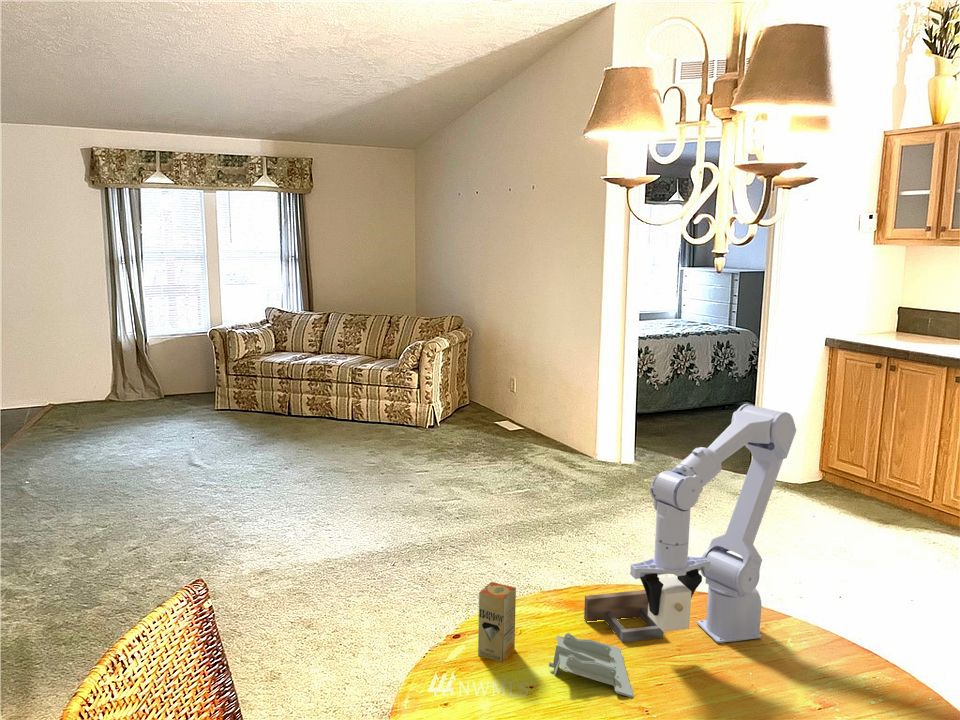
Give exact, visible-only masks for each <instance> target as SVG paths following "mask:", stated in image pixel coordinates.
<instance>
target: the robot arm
mask: <svg viewBox="0 0 960 720" xmlns="http://www.w3.org/2000/svg"><path fill="white" fill-rule="evenodd" d="M730 422H731V423H730V424H729V426H727V427H726V428H725V430H724V431H722V433H720V434H719V435H718V436H717V437H716V438H715V440H714V441H713V442H712V443H710V445H709V446H708V447H701V446H699V447H695V448H694V449H693V450H692V452H691V453H690V454H688V456H686V457H685V458H684V459H683V460H682V461H680V462H679V463H678V464H677V465H675V467H673V468H672V469H671V470H663V471H662V472H661V471H660V472H659V473H658V474H657V475H656V476H655V477H654V478H653V481H652V484H651V486H650V487H649V492H650V496H651V498H652V499H653V502H654V503H653V504H654V505H653V509H654V510H655V511H656V520H655V521H656V522H655V539H654V557H653V558H650V559H647V560H645V561H641V562H637V563H631V564H630V575H631V577H633V579H635V580H640V581H641V583H642V586H643V588H644V589H643V590H645V591H646V595H647V598H648V603H649V610H650V612H651V613H652V614H653V615H654V616H657V615H658V614H659V602H660V595H661V591H662V587H663V584H662V583H661V582H660V581H659V578H660V577H659V576H661V575H673V576H675V577H676V578H677V579H678V580H679V581H680V582H681V583H683V584H684V585H685V586H686V587H687V588H688V589H689V590H690V591H691V599H692V598H693V596H694V593H695V592H696V590H697V588H699V586H700V584H701V583H703V582H702V580H703V577H704V578H705V584H707V585H708V587H707V588H708V589H707V605H706V619H703V620H697V621H696V623H697V625H698V626H699V627H700V628H701V629H702V630H703V631H704V632H705V633H706V634H707V635H709V636H710V637H711V638H712V640H714V641H715V642H716V643H717V644H722V643H731V642H739V641H747V640H756V639H761V638H762V637H763V634H761V633H760V629H761V618H762V599H761V595H760V592H759V591H758V589H756V588H757V587H758V584H759V581H760V571H761V565H762V562H763V558H762V557H761V555H760V553H759V552H758V550H757V548H756V547H755V545H754V543H755V540H756V539H757V538H756V537H757V534H758V531H759V530H760V529H759V528H760V527H761V524H762V520H763V518H764V515H765V513H766V509H767V506H768V505H769V504H768V503H769V501H770V498H771V496H772V495H771V494H772V492H773V489H774V486H775V485H776V484H775V483H776V481H777V479H778V475H779V473H780V470H781V467H782V465H783V461H784V460H785V459H787V457H788V455H789V452H790V449H791V447H792V444H793V441H794V439H795V437H796V434H797V433H796V432H797V428H796V423H795V421H794V417H793V416H792V414H791V413H789V412H787V411H783V412H782V411H779V410H775V409H770V408H766V407H765V408H764V407H761V406H756V405H753V404H750V403H744V404H742V405H740V407H739V408H737V410H735V411H734V412H733V413H732V417H731V421H730ZM744 446H745V448H746V449H748V450H749V451H750V453H751V456H752V460H751V461H750V465H749V467H748V471H747V473H746V475H745V478H744V480H743V484H742V487H741V489H740V492H739V494H738V498H737V500H736V504H735V507H734V509H733V510H732V511H733V512H732V515H731V517H730V519H729V523H728V525H727V528H726V531H725V533H724V534H722V535H719V536H716V537H714V538H712V539H711V541H710V543H709V546H708V548H707V549H706V551H705V552H704V553H703V554H702V556H698V557H696V556H695V557H694V556H691V557H690V556H689V543H690V542H689V539H690V524H691V523H690V522H691V508H693V507H695V506H696V504H697V503H698V500H699V497H700V495H701V493H703V490H704V487H706V485H707V484H708V483H710V482H711V481H712V480H713V479H714V478H715V477H716V476H718V475H719V474H720V473H721V471H722V468H723V467H722V463H723V462H724V461H725V460H726V459H728V458H730V457H731V456H732V455H733V454H735V453H736V452H737V451H739V450H740V449H742V448H744ZM730 552H732V553H730ZM733 553H735V554H733ZM736 554H737V555H740V556H741V557H740V556H737V555H736ZM699 571H700V573H701V574H700V573H699Z"/></svg>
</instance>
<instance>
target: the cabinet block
mask: <svg viewBox="0 0 960 720" xmlns="http://www.w3.org/2000/svg"><path fill="white" fill-rule="evenodd" d="M659 581H660V582H661V583H662V584H663V587H662V591H661V595H660V602H659V614H658V615H657V616H654V615H653V614H652V613H651V612H650V610H649V603H648V616H649V617H650V618H651V619H652V620H653V621H654V622H655V623H656V624H657V626H658V627H659V628H660V629H661V630H662V631H663V632H671V631H680V630H681V631H682V630H687V629H690V621H691V608H692V607H691V605H692V604H691V602H692V598H691V591H690V590H689V589H688V588H687V587H686V586H685V585H684V584H683V583H681V582H680V581H679V580H678V578H677V576H668V577H659Z"/></svg>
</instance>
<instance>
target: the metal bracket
mask: <svg viewBox="0 0 960 720" xmlns="http://www.w3.org/2000/svg"><path fill="white" fill-rule="evenodd" d="M556 641H557V645H556V646H555V649H554V657H553V662H548V667H549V668H553V675H554V676H555V677H556V676H557V673H558V669H559V667H560V670H561V671H565V672H567V673H571V674H574V675H577V676H581V677H583V678H587V679H589V680H593V681H597V682H600V683H604V684H606V685H610V686H612V687H613V688H614V691H615V693H616V694H618V695H622V696H625V697H628V698H631V699H633V698H634V697H635V693H634V689H633V686H632V685H631V683H630V681H629V675H628V672H627V669H626V664H625V663H624V662H625V661H624V660H625V657H624V655H623V656H622V654H621V653H623V651H622V649H621V648H619V647H617V646H615V645H610V644H605V643H602V642H600V641H596V640H594V639H593V640H592V639H585V638H584V639H583V638H577V637H576V636H574V635H573V634H572V633H570V632H567V633H565V634H564V636H562V635H556ZM621 651H622V652H621Z"/></svg>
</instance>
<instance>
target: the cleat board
mask: <svg viewBox="0 0 960 720" xmlns="http://www.w3.org/2000/svg"><path fill="white" fill-rule="evenodd" d="M583 610H584V611H583V612H584V613H583V614H584V615H583V620H584V619H585V620H586V621H597V620H605V621H606V622H607V623H608V624H609V626H610V627H611V628H612V629H611V628H610V627H609V626H608V627H609V628H610V629H611V631H612V630H613V631H614V632H615V633H614V632H613V631H612V632H613V633H614V634H615V636H616V635H617V636H616V637H617V638H618V640H619V641H620V640H621V641H622V642H621V643H629V642H637V641H645V640H646V641H647V640H653V639H654V640H655V639H664V632H663V631H662V630H661V629H660V628H659V627H658V626H657V624H656V623H655V622H654V621H653V620H652V619H651V618H650V617H649V616H648V598H647V595H646V591H645V589H642V590H640V589H639V590H630V591H623V592H620V591H619V592H611V593H601V594H591V595H585V596H584V609H583ZM633 617H640V620H641V619H642V620H643V621H644V622H645V623H646V624H647V625H646V624H645V623H644V622H643V621H642V620H641V621H642V622H643V623H644V624H645V625H646V626H643V627H634V628H633V627H632V628H625V627H624V625H622V624H621V623H620V620H617V619H621V618H631V619H634V618H633ZM585 620H584V621H585ZM605 621H604V622H605ZM606 622H605V623H606ZM607 623H606V624H607ZM608 624H607V625H608Z"/></svg>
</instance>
